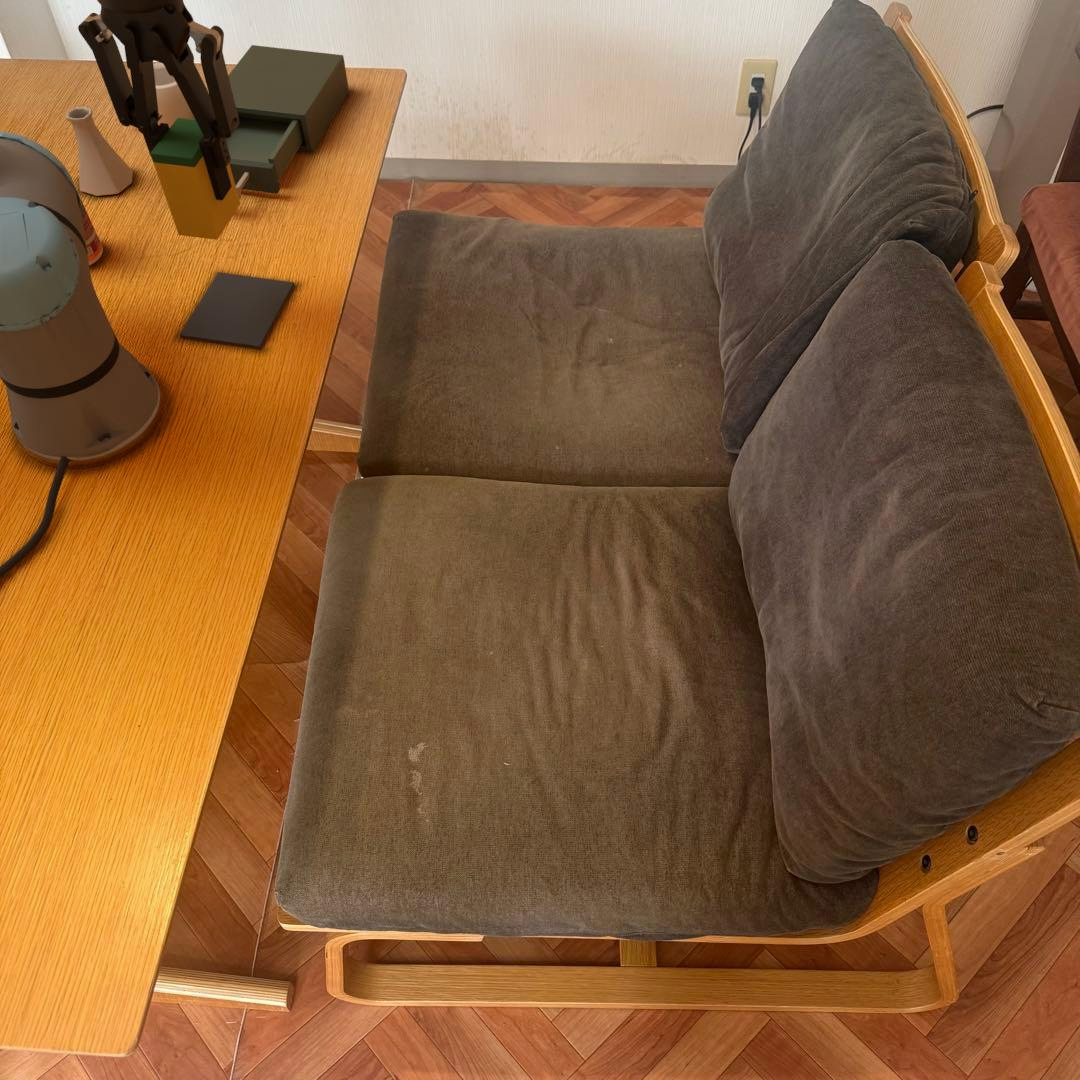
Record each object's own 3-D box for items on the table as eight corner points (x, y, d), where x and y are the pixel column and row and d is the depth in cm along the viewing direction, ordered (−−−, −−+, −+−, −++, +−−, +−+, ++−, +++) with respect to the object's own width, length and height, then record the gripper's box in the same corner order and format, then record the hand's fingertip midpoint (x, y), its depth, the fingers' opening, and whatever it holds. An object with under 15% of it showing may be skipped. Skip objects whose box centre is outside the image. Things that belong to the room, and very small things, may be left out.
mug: (210, 110, 136) (194, 57, 130) (204, 141, 131) (188, 87, 125) (129, 114, 135) (109, 61, 128) (120, 145, 130) (100, 91, 124)
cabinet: (312, 152, 130) (304, 115, 125) (217, 140, 131) (206, 103, 127) (349, 91, 140) (343, 54, 135) (260, 81, 141) (251, 44, 137)
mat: (260, 349, 105) (259, 346, 105) (180, 337, 106) (178, 334, 106) (294, 285, 112) (294, 282, 112) (219, 275, 113) (218, 272, 113)
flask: (142, 169, 126) (116, 100, 118) (123, 199, 122) (94, 129, 114) (92, 166, 127) (63, 96, 119) (71, 195, 122) (40, 125, 114)
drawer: (264, 216, 119) (257, 190, 116) (169, 204, 120) (159, 178, 117) (316, 130, 132) (311, 105, 128) (230, 120, 133) (223, 94, 130)
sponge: (217, 240, 98) (192, 158, 90) (178, 235, 98) (149, 153, 90) (240, 203, 102) (218, 122, 94) (203, 198, 102) (177, 117, 94)
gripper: (236, -59, 80) (290, 180, 99) (51, -77, 81) (139, 161, 100) (204, -23, 75) (266, 219, 94) (9, -43, 77) (109, 200, 96)
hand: (201, 189), depth 97 cm, fingers closed on sponge, 4 cm apart
